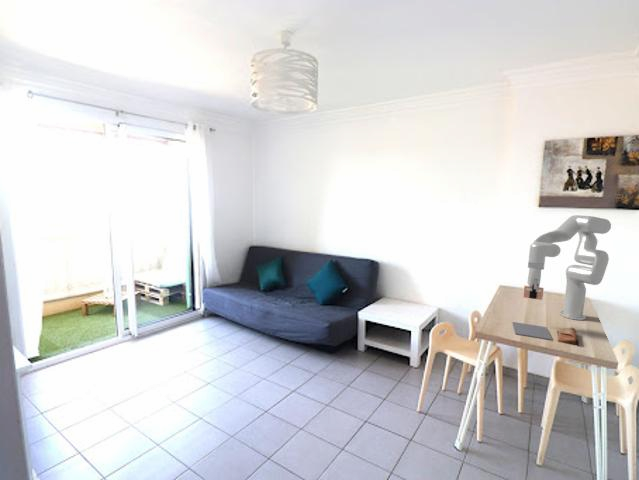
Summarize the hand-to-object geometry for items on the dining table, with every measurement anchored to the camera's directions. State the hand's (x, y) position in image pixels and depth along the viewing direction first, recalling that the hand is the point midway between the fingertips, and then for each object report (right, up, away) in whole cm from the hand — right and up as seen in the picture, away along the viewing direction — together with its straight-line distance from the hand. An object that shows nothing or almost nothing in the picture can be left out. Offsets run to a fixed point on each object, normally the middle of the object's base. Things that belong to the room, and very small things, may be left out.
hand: (532, 297), depth 187 cm
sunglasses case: (+7, -18, -16) cm, 26 cm away
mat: (-6, -16, -9) cm, 20 cm away
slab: (0, 0, 0) cm, 0 cm away
